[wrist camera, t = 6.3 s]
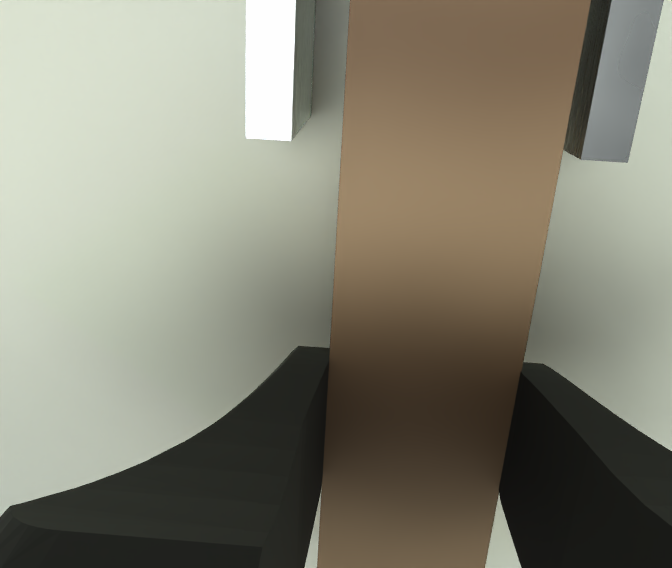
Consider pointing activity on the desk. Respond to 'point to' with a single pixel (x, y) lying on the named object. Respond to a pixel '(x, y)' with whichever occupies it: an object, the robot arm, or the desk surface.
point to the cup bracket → (588, 99)
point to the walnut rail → (437, 266)
